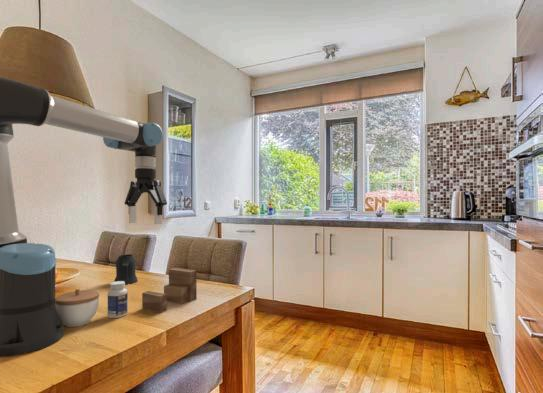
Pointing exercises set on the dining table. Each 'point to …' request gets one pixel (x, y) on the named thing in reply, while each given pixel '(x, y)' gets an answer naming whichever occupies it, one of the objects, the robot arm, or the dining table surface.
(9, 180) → the robot arm
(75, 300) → the lidded jar
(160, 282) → the dining table surface
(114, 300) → the pill bottle
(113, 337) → the dining table surface
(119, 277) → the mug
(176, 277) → the cluster of brown boxes
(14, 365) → the dining table surface
